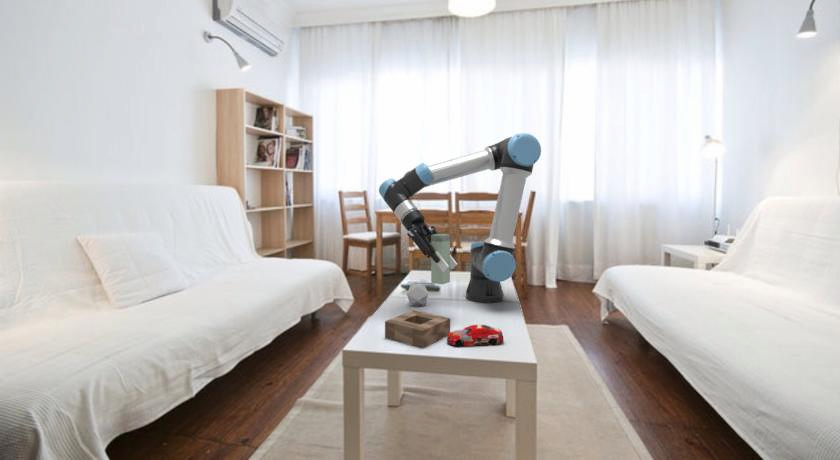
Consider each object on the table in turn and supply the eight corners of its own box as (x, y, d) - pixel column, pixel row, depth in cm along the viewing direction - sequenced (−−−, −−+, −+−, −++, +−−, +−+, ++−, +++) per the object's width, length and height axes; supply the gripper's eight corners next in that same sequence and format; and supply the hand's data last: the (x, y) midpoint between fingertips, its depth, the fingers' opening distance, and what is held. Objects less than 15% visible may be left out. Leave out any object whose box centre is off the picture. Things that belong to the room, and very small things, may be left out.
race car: (448, 349, 117) (449, 331, 117) (445, 340, 124) (445, 324, 124) (505, 346, 119) (506, 329, 119) (498, 338, 126) (499, 322, 125)
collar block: (413, 325, 136) (413, 310, 136) (450, 334, 128) (450, 318, 128) (385, 337, 125) (384, 321, 125) (423, 348, 117) (423, 330, 117)
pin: (438, 280, 144) (438, 233, 143) (449, 281, 141) (449, 234, 140) (431, 282, 140) (431, 235, 139) (442, 284, 138) (442, 235, 136)
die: (420, 310, 156) (434, 288, 158) (401, 298, 157) (414, 276, 159) (420, 312, 164) (433, 291, 166) (401, 300, 165) (414, 279, 167)
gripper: (418, 221, 155) (457, 270, 147) (387, 225, 141) (428, 279, 133) (430, 207, 152) (470, 257, 143) (399, 209, 137) (442, 264, 129)
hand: (450, 267), depth 138 cm, fingers closed on pin, 4 cm apart
